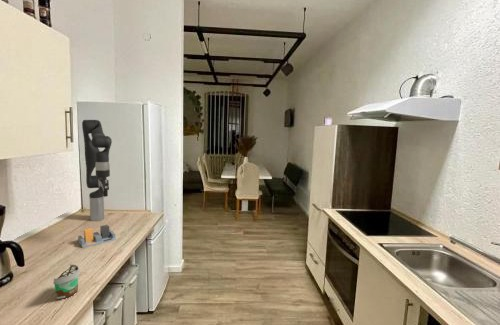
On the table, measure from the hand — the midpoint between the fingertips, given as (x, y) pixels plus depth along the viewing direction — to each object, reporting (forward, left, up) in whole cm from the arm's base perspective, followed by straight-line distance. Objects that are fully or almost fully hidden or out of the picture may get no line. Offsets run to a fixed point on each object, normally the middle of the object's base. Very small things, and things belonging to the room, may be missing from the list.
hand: (103, 194), depth 165 cm
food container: (+51, -26, -28) cm, 64 cm away
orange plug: (0, -9, -27) cm, 28 cm away
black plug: (0, 0, -27) cm, 27 cm away
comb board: (0, -5, -28) cm, 28 cm away
